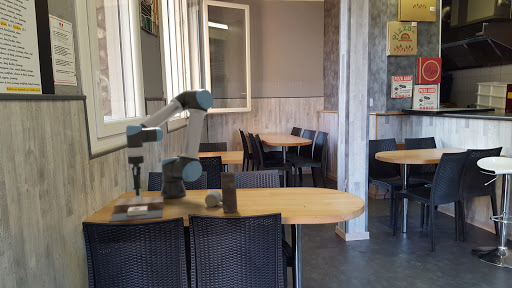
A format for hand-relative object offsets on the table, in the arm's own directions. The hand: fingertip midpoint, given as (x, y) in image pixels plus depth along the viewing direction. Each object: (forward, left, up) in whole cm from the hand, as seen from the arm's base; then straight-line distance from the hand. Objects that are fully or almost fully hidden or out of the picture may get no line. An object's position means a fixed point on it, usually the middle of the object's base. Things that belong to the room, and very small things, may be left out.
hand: (138, 201), depth 184 cm
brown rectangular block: (-45, +13, -6) cm, 47 cm away
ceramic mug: (-39, 0, -6) cm, 40 cm away
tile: (0, +3, -5) cm, 6 cm away
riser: (0, -8, -5) cm, 10 cm away
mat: (0, +7, -5) cm, 9 cm away
